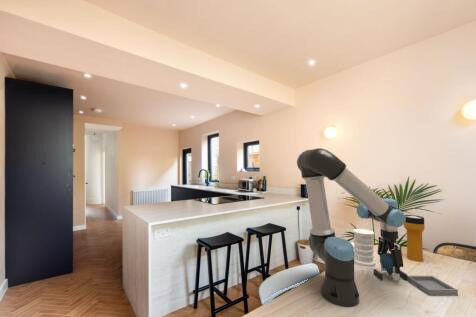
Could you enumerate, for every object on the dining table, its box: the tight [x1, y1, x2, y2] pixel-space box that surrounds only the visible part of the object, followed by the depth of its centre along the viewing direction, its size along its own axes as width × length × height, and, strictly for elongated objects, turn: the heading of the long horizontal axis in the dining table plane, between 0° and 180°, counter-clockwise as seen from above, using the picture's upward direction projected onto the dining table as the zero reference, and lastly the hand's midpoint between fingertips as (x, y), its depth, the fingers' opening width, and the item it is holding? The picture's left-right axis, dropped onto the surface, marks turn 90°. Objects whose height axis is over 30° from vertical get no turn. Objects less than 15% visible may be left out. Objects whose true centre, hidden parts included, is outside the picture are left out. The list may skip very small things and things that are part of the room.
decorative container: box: [352, 228, 376, 268], centre depth 131 cm, size 12×12×18 cm
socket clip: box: [373, 268, 408, 282], centre depth 113 cm, size 13×6×3 cm, turn 90°
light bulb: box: [379, 252, 397, 279], centre depth 113 cm, size 8×8×12 cm
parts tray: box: [407, 275, 459, 297], centre depth 103 cm, size 13×13×2 cm
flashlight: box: [403, 214, 425, 262], centre depth 136 cm, size 10×26×10 cm
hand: (389, 274), depth 113 cm, fingers closed on light bulb, 8 cm apart
